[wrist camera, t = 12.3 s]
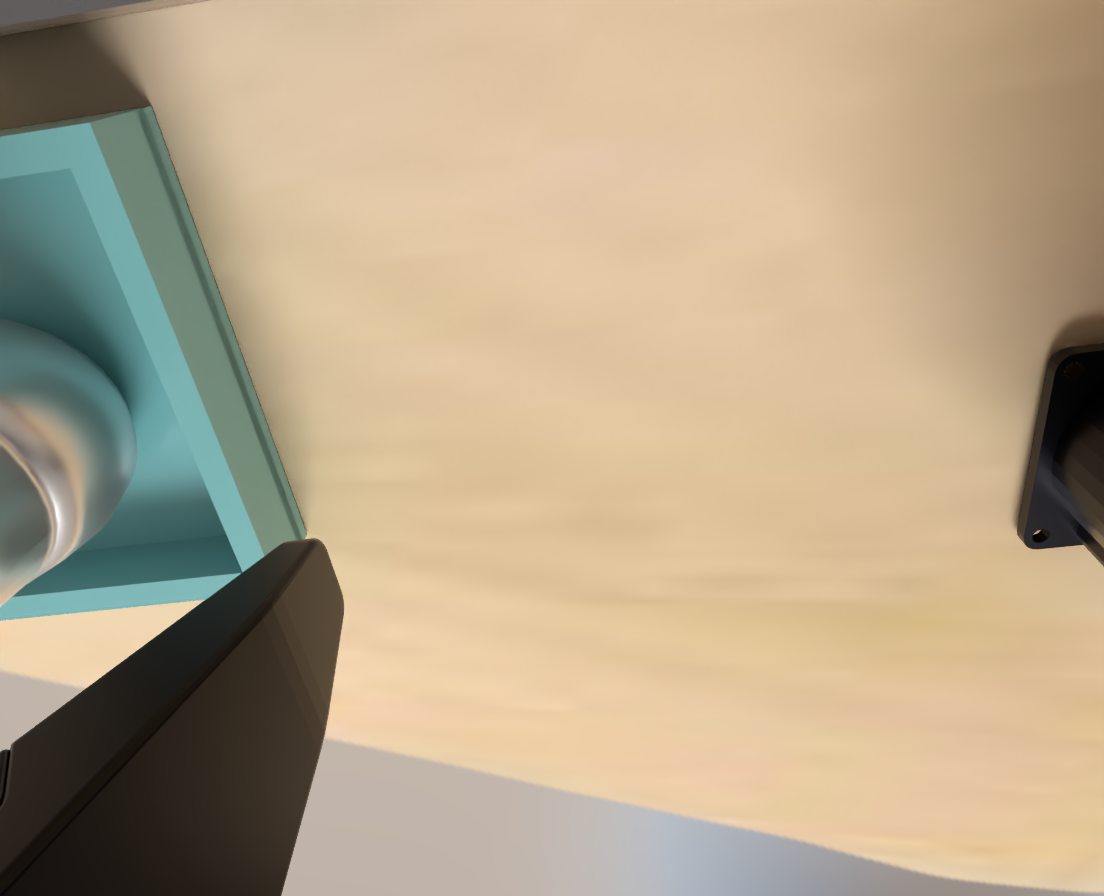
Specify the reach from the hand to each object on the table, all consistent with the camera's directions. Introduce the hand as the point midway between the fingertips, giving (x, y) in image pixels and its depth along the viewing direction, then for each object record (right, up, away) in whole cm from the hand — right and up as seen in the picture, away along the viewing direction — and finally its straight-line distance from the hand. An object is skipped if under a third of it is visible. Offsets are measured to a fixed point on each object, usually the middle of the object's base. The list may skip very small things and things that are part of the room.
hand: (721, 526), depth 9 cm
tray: (-17, +3, +14) cm, 22 cm away
